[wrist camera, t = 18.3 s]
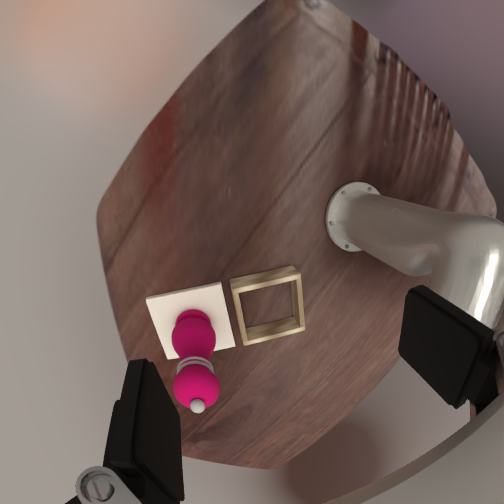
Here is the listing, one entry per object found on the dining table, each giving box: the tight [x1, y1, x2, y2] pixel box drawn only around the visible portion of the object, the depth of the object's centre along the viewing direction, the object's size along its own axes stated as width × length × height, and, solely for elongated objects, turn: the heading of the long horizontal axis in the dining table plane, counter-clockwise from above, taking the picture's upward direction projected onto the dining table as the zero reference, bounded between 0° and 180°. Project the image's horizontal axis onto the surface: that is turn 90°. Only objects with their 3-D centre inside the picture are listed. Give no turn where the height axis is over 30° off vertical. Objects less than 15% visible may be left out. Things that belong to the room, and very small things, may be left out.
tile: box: [146, 282, 235, 359], centre depth 48 cm, size 13×13×1 cm
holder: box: [229, 265, 305, 346], centre depth 48 cm, size 11×11×4 cm
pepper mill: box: [171, 309, 220, 413], centre depth 38 cm, size 7×7×20 cm
